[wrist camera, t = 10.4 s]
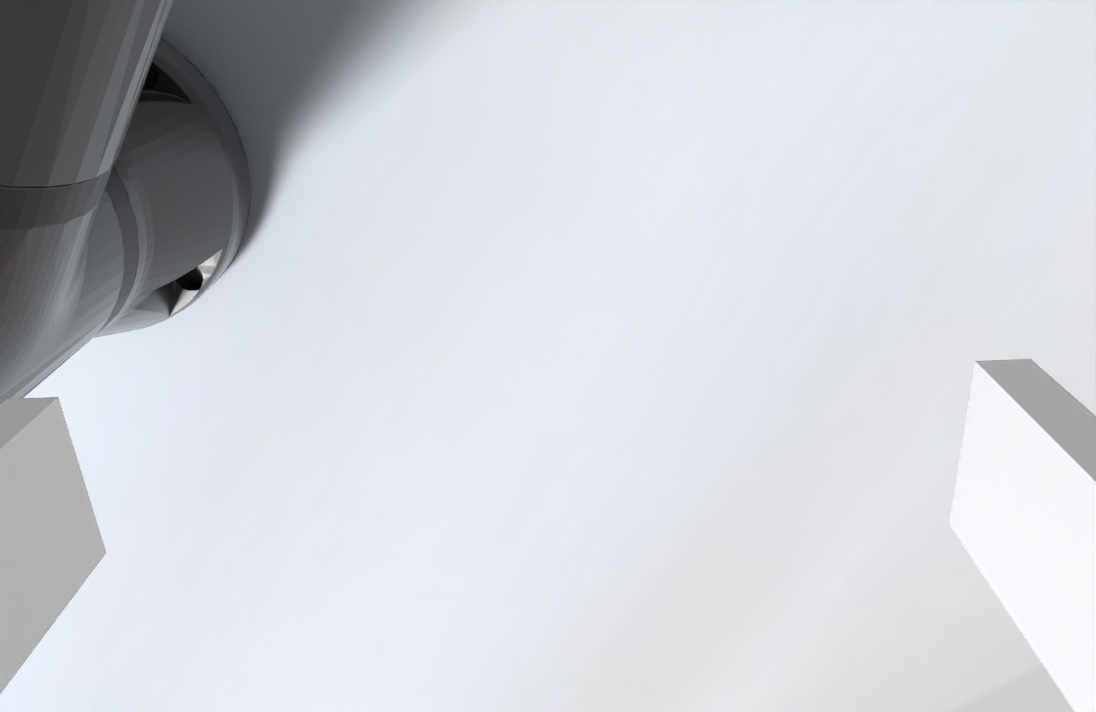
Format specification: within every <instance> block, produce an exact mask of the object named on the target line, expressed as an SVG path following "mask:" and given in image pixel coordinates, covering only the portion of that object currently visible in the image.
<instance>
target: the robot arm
mask: <svg viewBox="0 0 1096 712" xmlns="http://www.w3.org/2000/svg"><path fill="white" fill-rule="evenodd" d="M173 1H174V0H0V694H1V693H2V691H3V690H4V689H5V687H6V686H7V685H8V683H9V682H10V681H11V679H12V678H13V677H14V675H15V674H16V673H17V671H18V670H19V669H20V667H21V666H22V665H23V663H24V662H25V661H26V659H27V658H28V657H29V655H30V654H31V653H32V651H33V650H34V649H35V647H36V646H37V645H38V643H39V642H40V640H41V639H42V638H43V636H44V635H45V634H46V632H47V631H48V630H49V628H50V627H51V626H52V624H53V623H54V622H55V620H56V619H57V618H58V616H59V615H60V614H61V612H62V611H63V610H64V608H65V607H66V606H67V604H68V603H69V602H70V600H71V599H72V598H73V596H74V595H75V594H76V592H77V591H78V590H79V588H80V587H81V586H82V584H83V583H84V582H85V580H86V579H87V578H88V576H89V575H90V574H91V572H92V571H93V570H94V568H95V567H96V566H97V564H98V563H99V562H100V560H101V559H102V558H103V556H104V555H105V554H106V551H105V547H104V544H103V541H102V538H101V534H100V531H99V528H98V525H97V522H96V518H95V515H94V512H93V509H92V505H91V502H90V499H89V496H88V492H87V489H86V486H85V483H84V479H83V476H82V473H81V470H80V466H79V463H78V460H77V457H76V454H75V450H74V447H73V444H72V441H71V437H70V434H69V431H68V428H67V424H66V421H65V418H64V415H63V411H62V408H61V405H60V402H59V399H58V397H49V398H24V397H25V396H26V395H27V394H28V393H29V392H31V391H32V390H33V389H34V388H35V387H36V386H38V385H39V384H40V383H41V382H42V381H43V380H44V379H46V378H47V377H48V376H49V375H50V374H51V373H53V372H54V371H55V370H56V369H57V368H58V367H60V366H61V365H62V364H63V363H64V362H65V361H67V360H68V359H69V358H70V357H71V356H72V355H73V354H75V353H76V352H77V351H78V350H79V349H80V348H82V347H83V346H84V345H85V344H86V343H88V342H89V341H90V340H91V339H92V338H95V337H100V336H106V335H111V334H116V333H122V332H127V331H132V330H137V329H141V328H145V327H148V326H151V325H154V324H157V323H159V322H162V321H164V320H166V319H168V318H170V317H172V316H174V315H176V314H177V313H179V312H181V311H182V310H184V309H185V308H187V307H188V306H189V305H191V304H192V303H193V302H195V301H196V300H197V299H198V298H199V297H200V296H201V295H202V294H203V293H204V292H205V291H207V290H208V289H209V288H210V287H211V286H212V285H213V284H214V283H215V282H216V281H217V280H218V279H219V277H220V276H221V275H222V274H223V273H224V271H225V270H226V269H227V267H228V266H229V264H230V263H231V261H232V260H233V258H234V256H235V254H236V252H237V250H238V248H239V246H240V243H241V241H242V238H243V235H244V232H245V228H246V224H247V219H248V213H249V203H250V185H249V175H248V168H247V163H246V158H245V154H244V150H243V147H242V144H241V141H240V138H239V135H238V133H237V130H236V128H235V126H234V123H233V121H232V119H231V117H230V115H229V113H228V112H227V110H226V108H225V106H224V104H223V103H222V101H221V100H220V98H219V97H218V95H217V94H216V92H215V91H214V89H213V88H212V87H211V85H210V84H209V83H208V82H207V80H206V79H205V78H204V77H203V76H202V74H201V73H200V72H199V71H198V70H197V69H196V68H195V67H194V66H193V65H192V64H191V63H190V62H189V61H188V60H187V59H186V58H185V57H184V56H183V55H182V54H180V53H179V52H178V51H177V50H176V49H174V48H173V47H172V46H171V45H169V44H168V43H167V42H165V41H164V40H162V39H161V35H162V32H163V29H164V27H165V24H166V21H167V18H168V15H169V13H170V10H171V7H172V4H173ZM22 398H23V399H22ZM949 525H950V527H951V528H952V530H953V531H954V533H955V534H956V536H957V537H958V539H959V540H960V542H961V543H962V545H963V546H964V548H965V549H966V551H967V552H968V554H969V555H970V557H971V558H972V560H973V561H974V563H975V564H976V566H977V567H978V569H979V570H980V572H981V573H982V575H983V576H984V578H985V579H986V581H987V582H988V584H989V585H990V587H991V588H992V590H993V591H994V592H995V594H996V595H997V597H998V598H999V600H1000V601H1001V603H1002V604H1003V606H1004V607H1005V609H1006V610H1007V612H1008V613H1009V615H1010V616H1011V618H1012V619H1013V621H1014V622H1015V624H1016V625H1017V627H1018V628H1019V630H1020V631H1021V633H1022V634H1023V636H1024V637H1025V639H1026V640H1027V642H1028V643H1029V645H1030V646H1031V648H1032V649H1033V651H1034V652H1035V654H1036V655H1037V657H1038V658H1039V660H1040V661H1041V662H1042V664H1043V665H1044V667H1045V668H1046V670H1047V671H1048V673H1049V674H1050V676H1051V677H1052V679H1053V680H1054V682H1055V683H1056V685H1057V686H1058V688H1059V689H1060V691H1061V692H1062V694H1063V695H1064V697H1065V698H1066V700H1067V701H1068V703H1069V704H1070V705H1071V707H1072V708H1073V710H1074V712H1096V416H1095V415H1094V414H1093V413H1092V412H1090V411H1089V410H1088V409H1087V408H1086V407H1085V406H1084V405H1082V404H1081V403H1080V402H1079V401H1078V400H1077V399H1076V398H1074V397H1073V396H1072V395H1071V394H1070V393H1069V392H1068V391H1066V390H1065V389H1064V388H1063V387H1062V386H1061V385H1060V384H1059V383H1057V382H1056V381H1055V380H1054V379H1053V378H1052V377H1051V376H1049V375H1048V374H1047V373H1046V372H1045V371H1044V370H1043V369H1041V368H1040V367H1039V366H1038V365H1037V364H1036V363H1035V362H1033V361H1032V360H1031V359H1019V360H993V361H975V366H974V372H973V378H972V385H971V391H970V397H969V403H968V409H967V415H966V421H965V428H964V434H963V440H962V446H961V452H960V458H959V465H958V471H957V477H956V483H955V489H954V495H953V501H952V508H951V514H950V520H949Z"/></svg>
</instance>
